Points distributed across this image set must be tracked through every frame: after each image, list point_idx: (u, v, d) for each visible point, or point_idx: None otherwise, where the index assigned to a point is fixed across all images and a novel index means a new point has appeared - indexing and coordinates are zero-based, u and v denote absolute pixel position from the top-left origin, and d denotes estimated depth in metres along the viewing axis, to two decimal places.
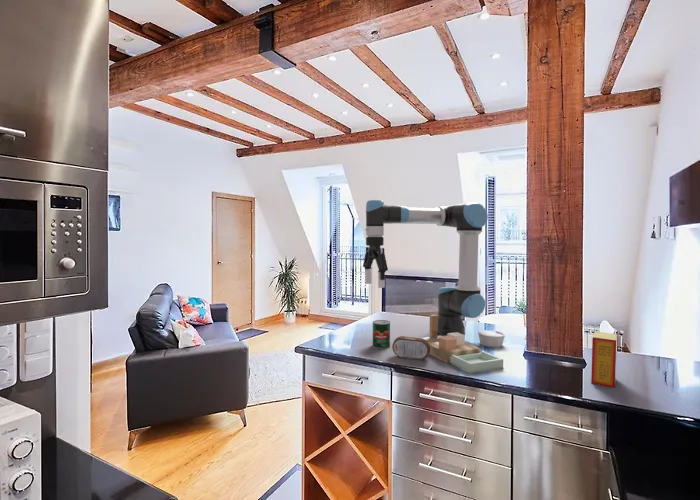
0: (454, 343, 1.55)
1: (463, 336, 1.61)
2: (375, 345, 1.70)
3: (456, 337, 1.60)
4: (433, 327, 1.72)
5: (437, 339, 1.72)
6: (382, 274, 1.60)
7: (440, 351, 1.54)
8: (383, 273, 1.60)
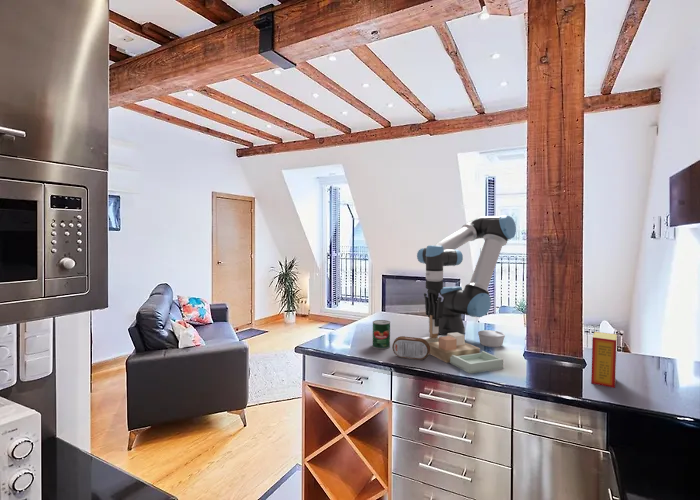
0: (454, 343, 1.55)
1: (463, 336, 1.61)
2: (375, 345, 1.70)
3: (456, 337, 1.60)
4: None
5: (437, 339, 1.72)
6: (436, 321, 1.70)
7: (440, 351, 1.54)
8: (437, 320, 1.70)
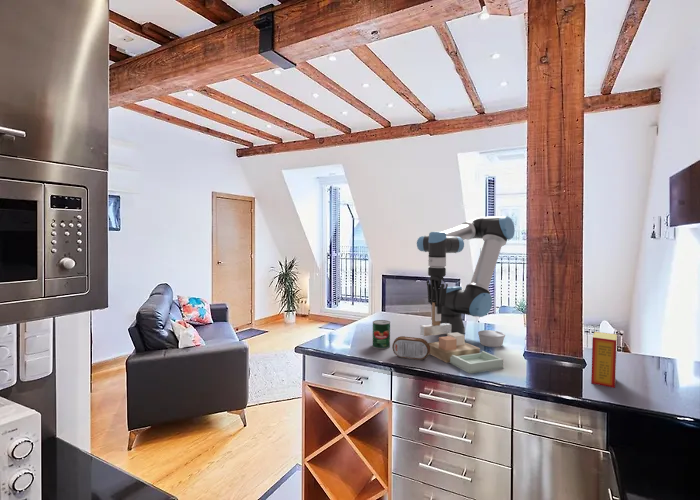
0: (454, 343, 1.55)
1: (463, 336, 1.61)
2: (375, 345, 1.70)
3: (456, 337, 1.60)
4: None
5: (439, 326, 1.70)
6: (439, 308, 1.68)
7: (440, 351, 1.54)
8: (440, 307, 1.68)
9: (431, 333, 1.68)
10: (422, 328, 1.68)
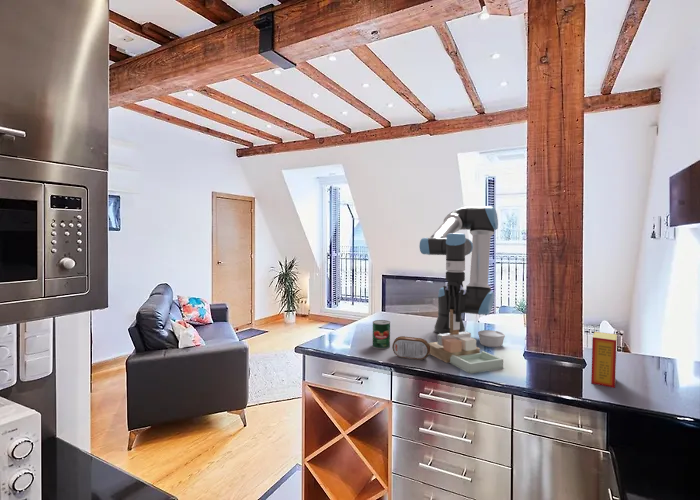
0: (459, 345, 1.52)
1: (475, 341, 1.54)
2: (375, 345, 1.70)
3: (467, 342, 1.53)
4: None
5: (458, 335, 1.57)
6: (458, 316, 1.55)
7: (440, 351, 1.54)
8: (459, 315, 1.55)
9: None
10: (439, 337, 1.56)
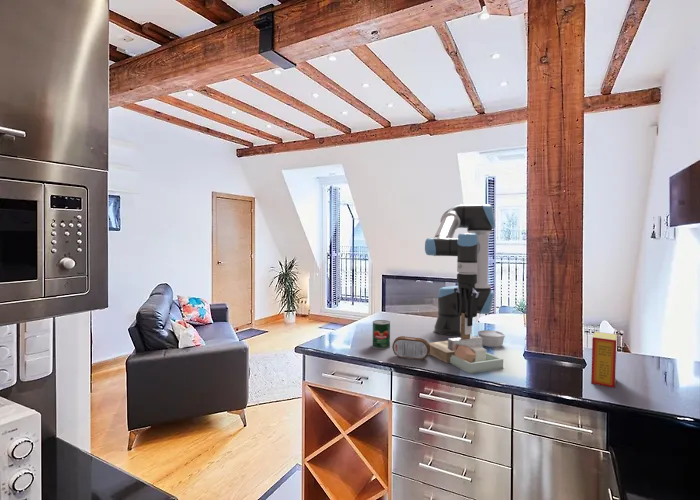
0: (472, 358, 1.46)
1: None
2: (375, 345, 1.70)
3: None
4: None
5: (469, 340, 1.51)
6: (470, 320, 1.49)
7: (440, 351, 1.54)
8: (471, 319, 1.49)
9: None
10: (450, 342, 1.49)
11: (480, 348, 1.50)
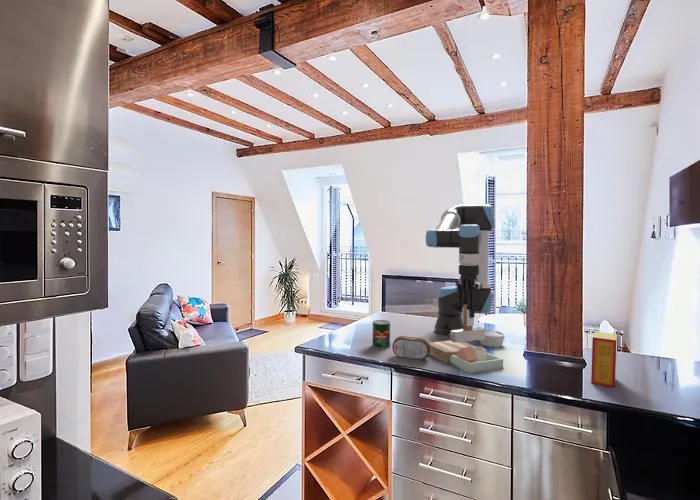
0: (473, 361, 1.45)
1: None
2: (375, 345, 1.70)
3: None
4: None
5: (472, 332, 1.50)
6: (472, 311, 1.48)
7: (440, 351, 1.54)
8: (473, 310, 1.48)
9: (463, 339, 1.49)
10: (452, 334, 1.48)
11: (480, 348, 1.50)
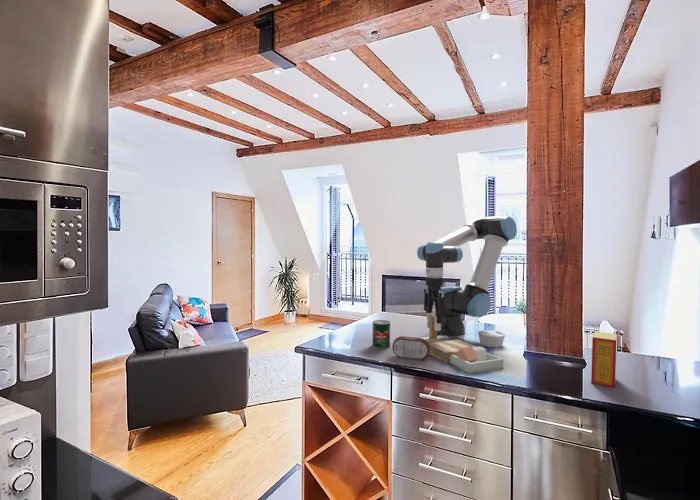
0: (473, 361, 1.45)
1: None
2: (375, 345, 1.70)
3: None
4: (433, 327, 1.72)
5: (437, 339, 1.72)
6: (439, 318, 1.68)
7: (440, 351, 1.54)
8: (440, 317, 1.68)
9: None
10: None
11: (480, 348, 1.50)
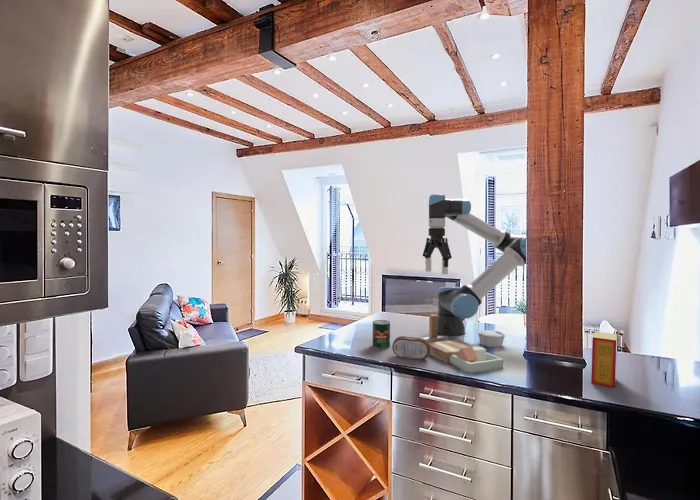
0: (473, 361, 1.45)
1: None
2: (375, 345, 1.70)
3: None
4: (433, 327, 1.72)
5: (437, 339, 1.72)
6: (446, 262, 1.75)
7: (440, 351, 1.54)
8: (447, 261, 1.75)
9: None
10: None
11: (480, 348, 1.50)
